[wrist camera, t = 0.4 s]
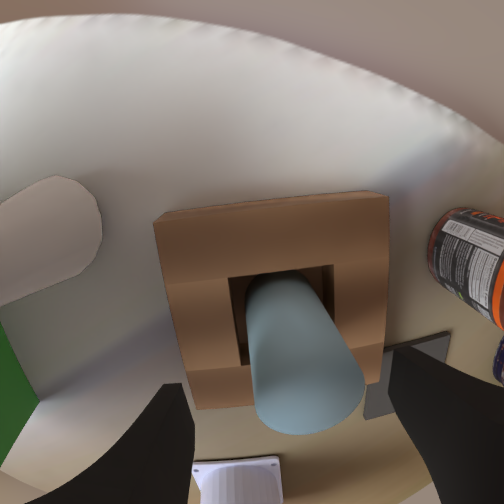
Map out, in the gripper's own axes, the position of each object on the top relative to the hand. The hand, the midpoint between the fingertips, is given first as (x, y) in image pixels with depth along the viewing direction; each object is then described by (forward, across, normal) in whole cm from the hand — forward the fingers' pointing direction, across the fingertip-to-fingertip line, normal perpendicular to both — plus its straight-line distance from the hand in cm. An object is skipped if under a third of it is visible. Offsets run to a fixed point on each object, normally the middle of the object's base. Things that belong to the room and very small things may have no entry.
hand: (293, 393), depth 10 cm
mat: (+10, -11, +10) cm, 18 cm away
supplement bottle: (+10, -14, 0) cm, 18 cm away
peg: (+10, -1, +1) cm, 10 cm away
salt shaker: (+10, +11, -6) cm, 16 cm away
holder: (+10, -1, +1) cm, 10 cm away
